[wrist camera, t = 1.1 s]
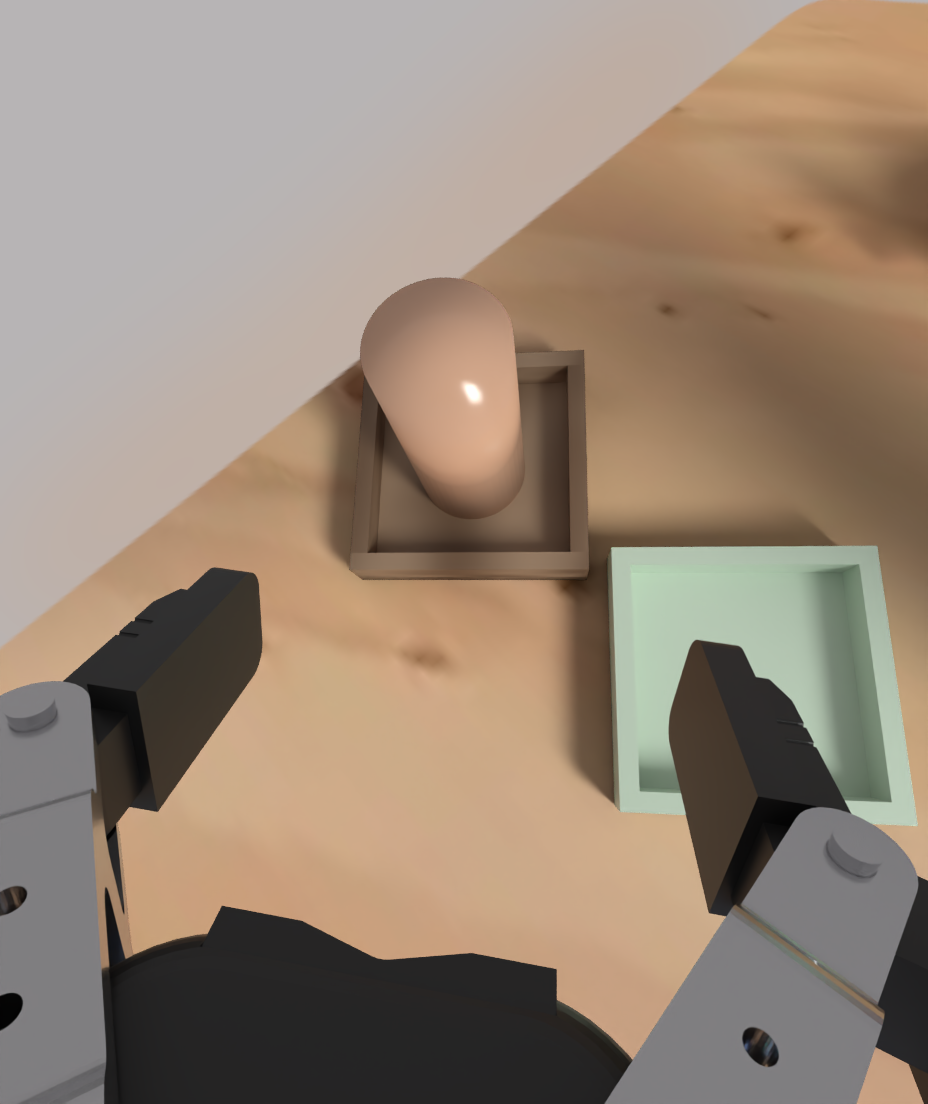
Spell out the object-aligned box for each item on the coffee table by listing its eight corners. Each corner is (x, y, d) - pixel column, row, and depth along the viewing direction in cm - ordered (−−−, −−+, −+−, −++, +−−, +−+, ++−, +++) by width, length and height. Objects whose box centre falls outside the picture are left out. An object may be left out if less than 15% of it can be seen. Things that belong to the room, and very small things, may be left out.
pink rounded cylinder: (525, 421, 32) (514, 273, 21) (524, 518, 30) (513, 412, 20) (424, 424, 32) (365, 282, 22) (419, 520, 31) (354, 418, 21)
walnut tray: (581, 373, 33) (584, 350, 31) (586, 579, 30) (589, 569, 28) (376, 382, 34) (365, 360, 32) (362, 579, 31) (349, 569, 29)
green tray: (852, 558, 29) (877, 545, 26) (887, 817, 26) (917, 826, 24) (607, 559, 30) (611, 547, 28) (614, 804, 27) (620, 812, 25)
